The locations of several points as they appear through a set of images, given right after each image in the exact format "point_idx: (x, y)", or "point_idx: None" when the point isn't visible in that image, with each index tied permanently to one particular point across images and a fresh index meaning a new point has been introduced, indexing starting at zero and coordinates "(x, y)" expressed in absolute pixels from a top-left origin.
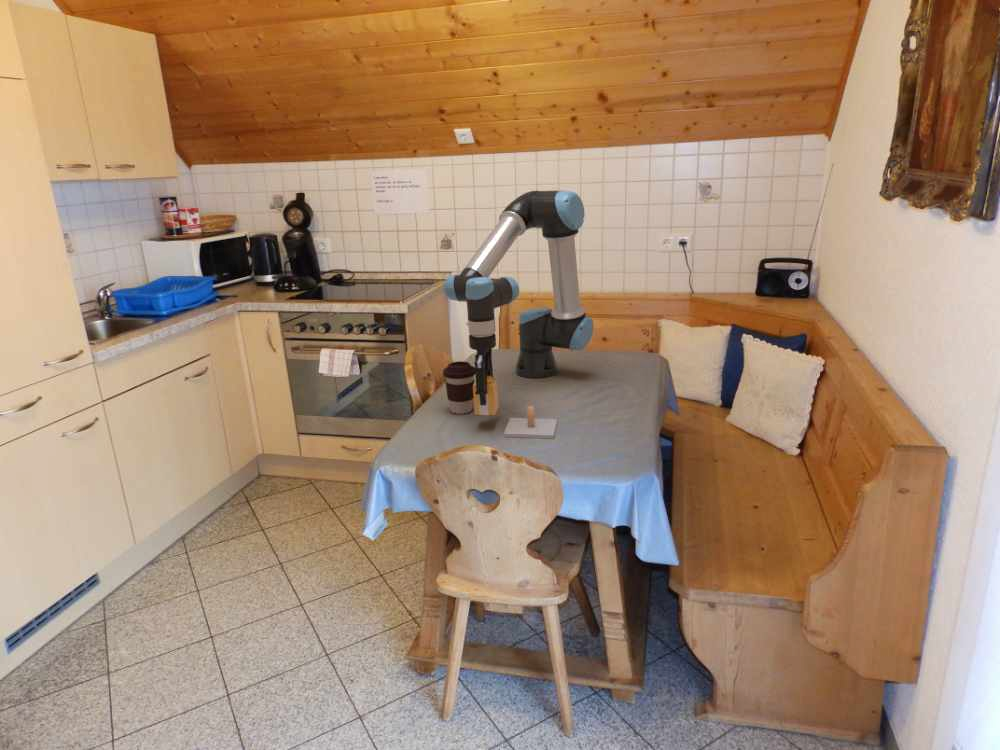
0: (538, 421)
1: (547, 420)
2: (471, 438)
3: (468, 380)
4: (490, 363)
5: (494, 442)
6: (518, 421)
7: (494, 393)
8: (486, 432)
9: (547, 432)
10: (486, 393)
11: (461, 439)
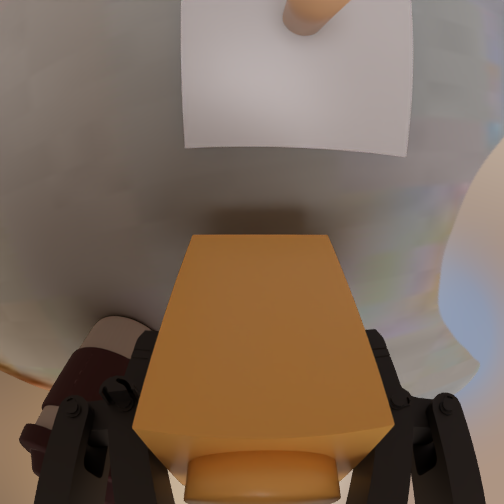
0: None
1: None
2: (395, 278)
3: None
4: None
5: (444, 190)
6: (237, 91)
7: (341, 344)
8: (344, 234)
9: None
10: (399, 393)
11: (397, 305)
